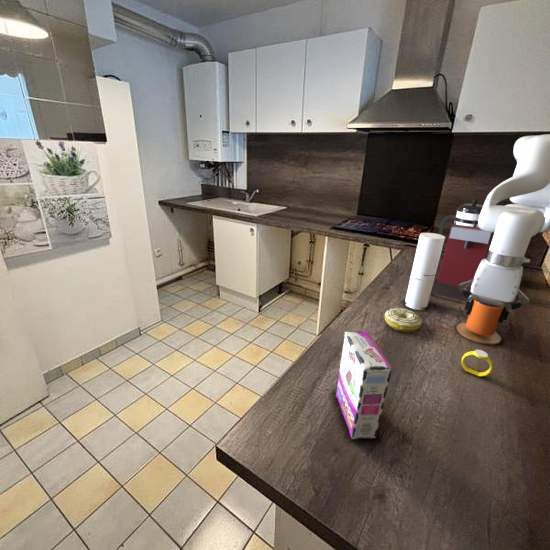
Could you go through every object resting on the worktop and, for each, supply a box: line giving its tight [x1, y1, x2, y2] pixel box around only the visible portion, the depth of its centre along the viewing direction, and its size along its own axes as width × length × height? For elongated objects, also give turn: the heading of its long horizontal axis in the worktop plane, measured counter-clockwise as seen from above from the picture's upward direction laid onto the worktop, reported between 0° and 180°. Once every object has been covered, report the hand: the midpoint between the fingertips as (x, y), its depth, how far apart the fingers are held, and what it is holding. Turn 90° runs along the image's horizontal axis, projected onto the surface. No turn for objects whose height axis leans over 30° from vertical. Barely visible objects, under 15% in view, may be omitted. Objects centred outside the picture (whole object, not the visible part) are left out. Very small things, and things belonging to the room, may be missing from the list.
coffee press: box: [437, 198, 484, 258], centre depth 143 cm, size 17×16×30 cm
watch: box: [461, 349, 493, 377], centre depth 69 cm, size 6×3×6 cm, turn 53°
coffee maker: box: [431, 223, 494, 303], centre depth 108 cm, size 18×13×24 cm
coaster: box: [456, 321, 502, 346], centre depth 86 cm, size 11×11×1 cm
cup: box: [465, 296, 505, 336], centre depth 84 cm, size 7×7×9 cm
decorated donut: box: [384, 307, 423, 333], centre depth 89 cm, size 10×11×4 cm
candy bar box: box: [335, 330, 393, 440], centre depth 55 cm, size 11×5×16 cm, turn 5°
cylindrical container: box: [404, 232, 446, 311], centre depth 97 cm, size 7×7×25 cm
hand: (483, 316), depth 84 cm, fingers closed on cup, 7 cm apart
